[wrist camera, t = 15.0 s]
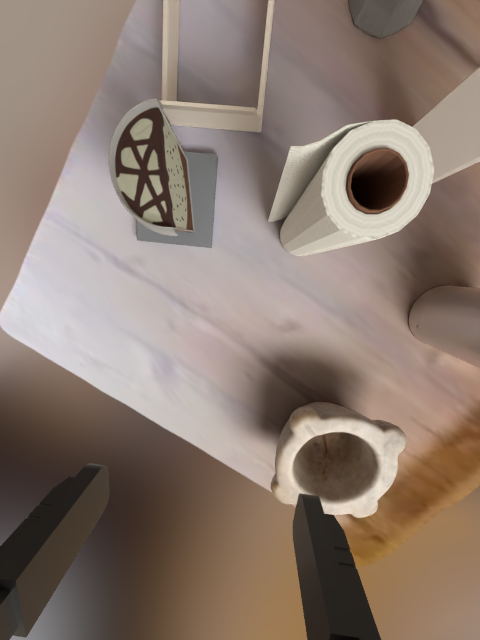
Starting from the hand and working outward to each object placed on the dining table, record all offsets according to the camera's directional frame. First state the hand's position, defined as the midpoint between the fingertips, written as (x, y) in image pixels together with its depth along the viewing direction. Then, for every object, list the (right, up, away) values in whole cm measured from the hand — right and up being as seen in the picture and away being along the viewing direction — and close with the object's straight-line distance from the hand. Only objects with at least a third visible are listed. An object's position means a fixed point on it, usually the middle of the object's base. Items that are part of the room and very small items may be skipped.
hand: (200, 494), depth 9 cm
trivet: (-8, +24, +24) cm, 35 cm away
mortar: (+16, -12, +31) cm, 37 cm away
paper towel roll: (+10, +20, +24) cm, 33 cm away
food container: (-8, +24, +23) cm, 34 cm away
